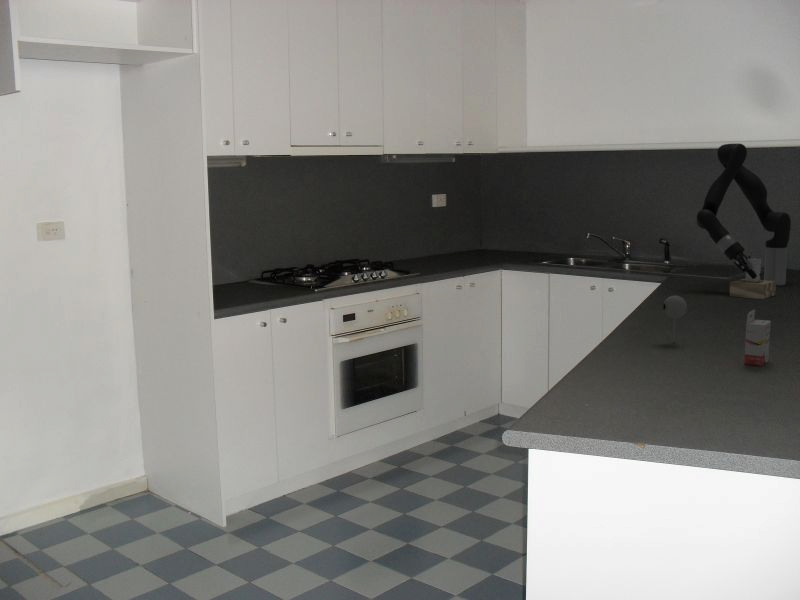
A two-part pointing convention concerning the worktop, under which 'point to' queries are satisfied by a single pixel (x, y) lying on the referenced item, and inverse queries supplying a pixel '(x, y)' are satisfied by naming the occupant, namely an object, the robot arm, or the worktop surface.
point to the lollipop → (674, 309)
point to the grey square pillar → (755, 266)
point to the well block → (752, 289)
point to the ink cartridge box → (757, 340)
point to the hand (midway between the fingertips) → (757, 276)
